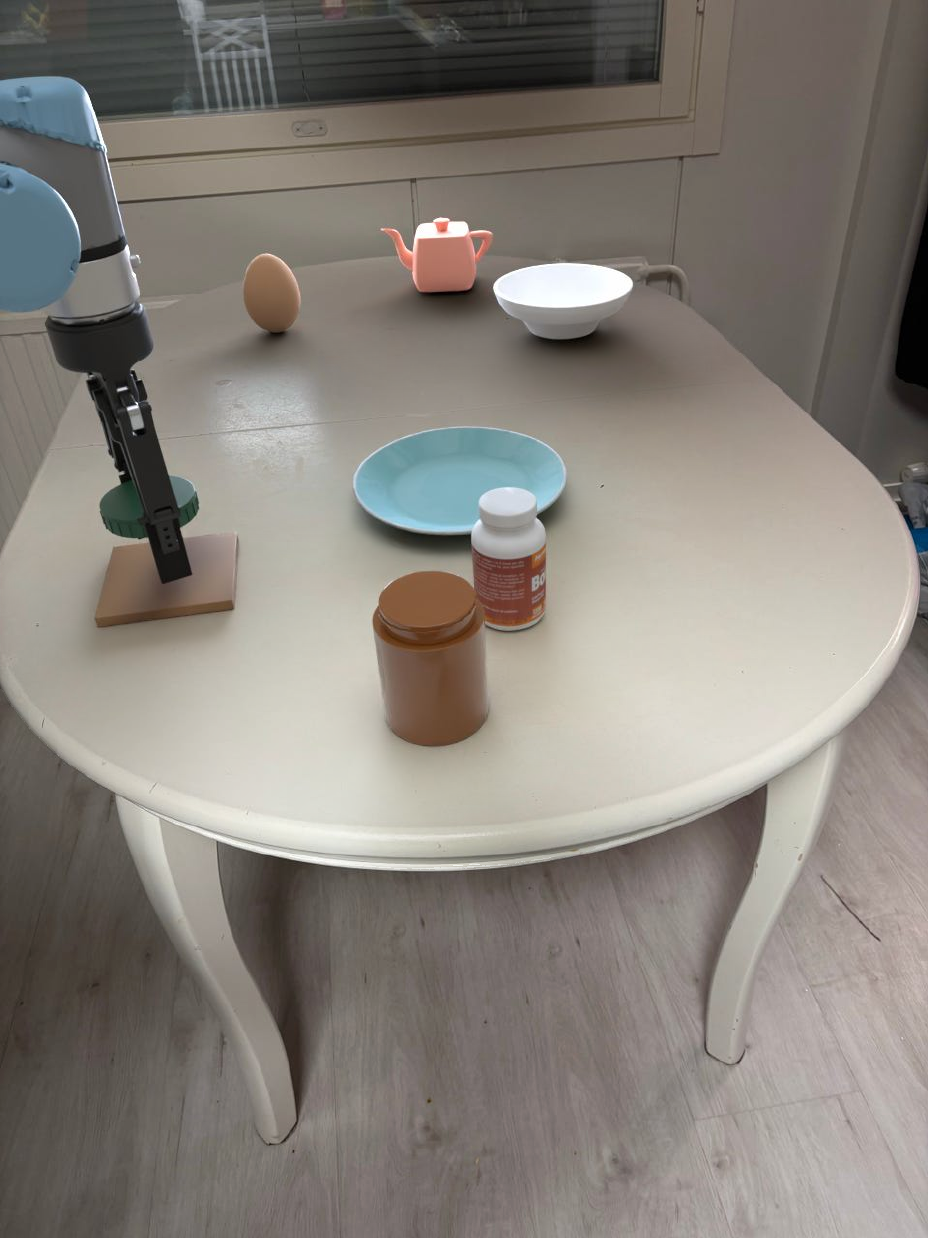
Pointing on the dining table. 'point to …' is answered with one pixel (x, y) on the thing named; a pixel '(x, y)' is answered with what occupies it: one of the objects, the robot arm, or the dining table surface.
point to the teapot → (442, 255)
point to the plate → (453, 477)
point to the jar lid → (125, 507)
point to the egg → (271, 293)
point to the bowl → (563, 297)
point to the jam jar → (432, 657)
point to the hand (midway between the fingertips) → (163, 554)
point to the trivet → (144, 597)
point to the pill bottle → (509, 559)
